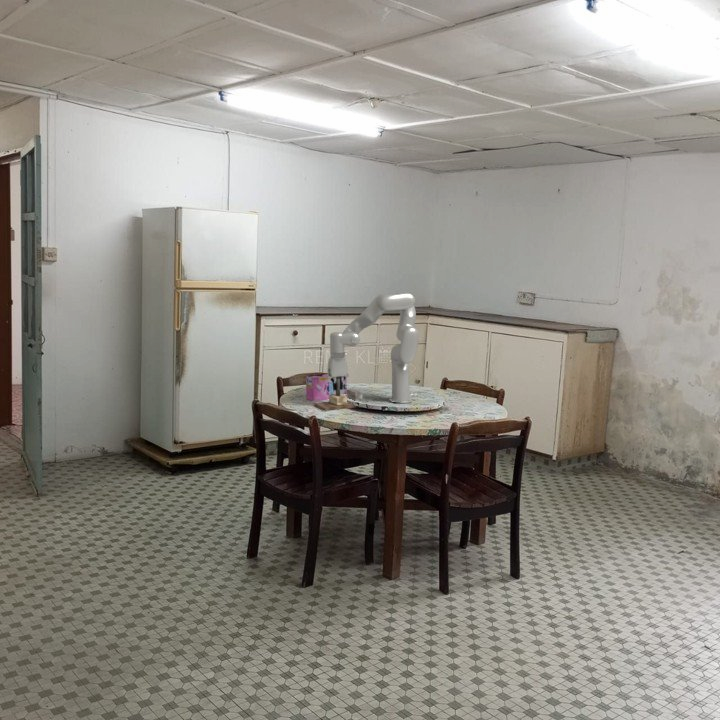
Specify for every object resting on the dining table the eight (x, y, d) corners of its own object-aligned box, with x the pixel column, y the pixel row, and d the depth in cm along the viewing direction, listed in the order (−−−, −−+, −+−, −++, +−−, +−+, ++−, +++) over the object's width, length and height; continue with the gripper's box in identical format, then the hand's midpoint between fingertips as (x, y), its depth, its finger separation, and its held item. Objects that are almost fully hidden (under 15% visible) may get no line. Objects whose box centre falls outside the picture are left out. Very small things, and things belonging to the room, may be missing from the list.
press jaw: (338, 400, 397) (338, 371, 394) (347, 403, 388) (347, 374, 386) (329, 401, 394) (328, 372, 391) (337, 405, 385) (336, 375, 383)
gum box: (341, 394, 423) (341, 371, 421) (349, 396, 417) (348, 373, 415) (305, 399, 410) (305, 375, 408) (313, 401, 404) (312, 377, 402)
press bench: (353, 401, 403) (353, 387, 402) (365, 405, 391) (365, 392, 390) (314, 406, 392) (313, 392, 391) (325, 410, 380) (325, 396, 379)
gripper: (347, 353, 394) (348, 387, 397) (320, 355, 386) (321, 390, 389) (354, 355, 388) (354, 389, 390) (326, 357, 380) (327, 392, 383)
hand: (337, 389), depth 390 cm, fingers closed on press jaw, 2 cm apart
